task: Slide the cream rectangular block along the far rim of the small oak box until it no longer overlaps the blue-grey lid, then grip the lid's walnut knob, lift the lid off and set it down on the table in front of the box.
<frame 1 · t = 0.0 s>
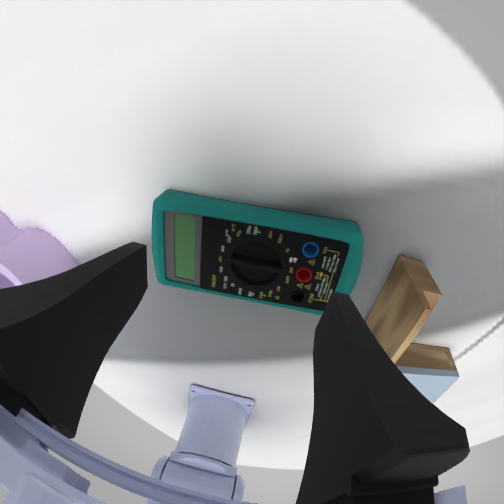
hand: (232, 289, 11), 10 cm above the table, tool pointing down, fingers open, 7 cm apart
lid: (390, 405, 24), point 3 cm above the table, touching toolbox
clip: (37, 263, 27), on the table
toolbox: (386, 382, 27), on the table
digital multimeter: (255, 244, 22), on the table
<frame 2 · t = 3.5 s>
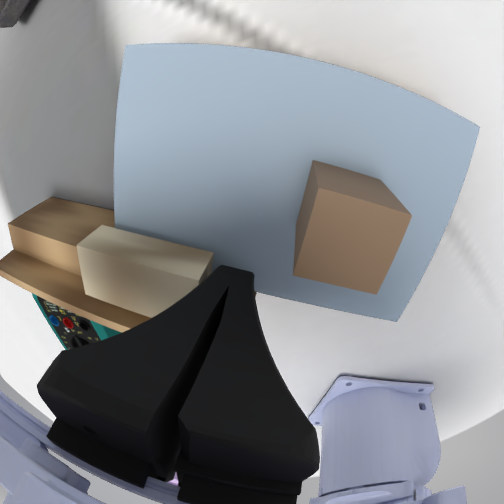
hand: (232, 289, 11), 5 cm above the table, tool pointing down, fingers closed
lid: (282, 181, 10), point 3 cm above the table, touching toolbox
toolbox: (286, 163, 13), on the table
cream rectangular block: (143, 275, 11), point 5 cm above the table, slide at 0.9 cm, touching gripper
digital multimeter: (102, 334, 23), on the table
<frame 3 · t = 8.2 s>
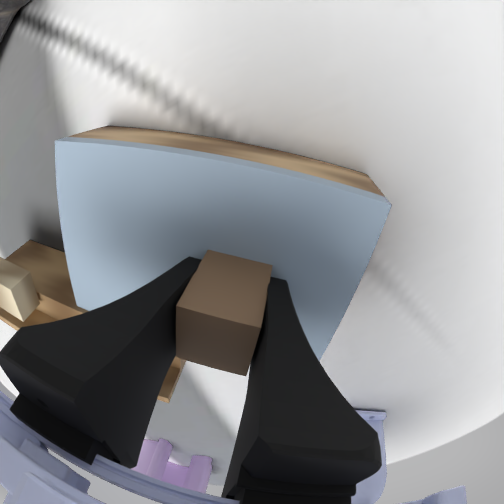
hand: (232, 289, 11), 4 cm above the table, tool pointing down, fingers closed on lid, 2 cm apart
lid: (192, 260, 12), point 3 cm above the table, touching gripper, toolbox
pipe: (20, 9, 8), on the table
clip: (170, 457, 37), on the table
toolbox: (212, 227, 15), on the table
cream rectangular block: (3, 284, 12), point 5 cm above the table, slide at 8.5 cm
when the fingers open (3 cm above the table, at t = 11.3 s): lid stays where it is, point 1 cm above the table.
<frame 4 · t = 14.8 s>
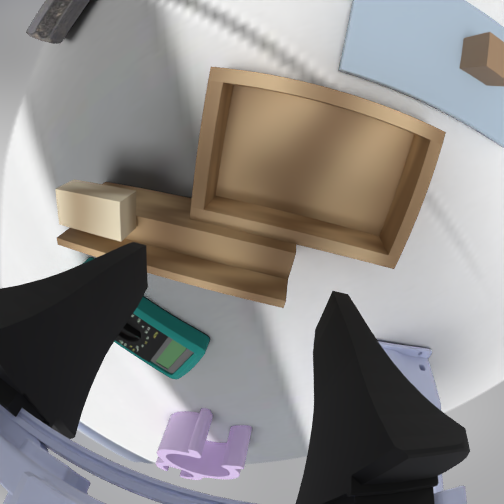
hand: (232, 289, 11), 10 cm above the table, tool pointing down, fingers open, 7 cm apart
lid: (446, 48, 11), point 1 cm above the table
clip: (202, 432, 40), on the table
toolbox: (313, 159, 17), on the table
cream rectangular block: (94, 208, 15), point 5 cm above the table, slide at 8.5 cm
digital multimeter: (140, 313, 28), on the table
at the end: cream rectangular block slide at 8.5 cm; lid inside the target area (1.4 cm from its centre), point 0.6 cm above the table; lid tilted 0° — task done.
